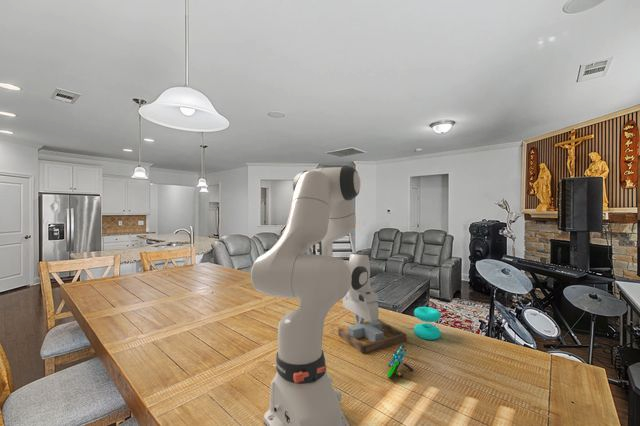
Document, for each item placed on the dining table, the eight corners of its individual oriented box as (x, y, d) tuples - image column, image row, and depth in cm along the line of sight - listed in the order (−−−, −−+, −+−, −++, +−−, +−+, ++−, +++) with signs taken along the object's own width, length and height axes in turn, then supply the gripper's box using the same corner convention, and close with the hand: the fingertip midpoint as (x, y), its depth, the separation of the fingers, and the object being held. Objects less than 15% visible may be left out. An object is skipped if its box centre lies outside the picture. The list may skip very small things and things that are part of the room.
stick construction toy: (390, 352, 94) (403, 339, 90) (408, 366, 92) (422, 354, 88) (379, 380, 84) (393, 367, 80) (399, 397, 82) (414, 385, 78)
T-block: (393, 338, 108) (393, 329, 108) (364, 347, 102) (364, 337, 102) (375, 327, 118) (375, 319, 118) (347, 335, 111) (347, 326, 111)
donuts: (446, 312, 108) (425, 316, 105) (446, 338, 108) (425, 342, 105) (428, 304, 117) (408, 307, 114) (428, 328, 118) (408, 331, 114)
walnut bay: (406, 340, 106) (406, 334, 106) (362, 353, 97) (362, 346, 97) (378, 325, 121) (378, 319, 121) (338, 335, 111) (338, 328, 111)
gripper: (339, 286, 123) (339, 318, 124) (368, 300, 105) (368, 336, 105) (351, 284, 126) (351, 315, 126) (381, 297, 108) (381, 333, 108)
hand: (359, 325), depth 116 cm, fingers closed
